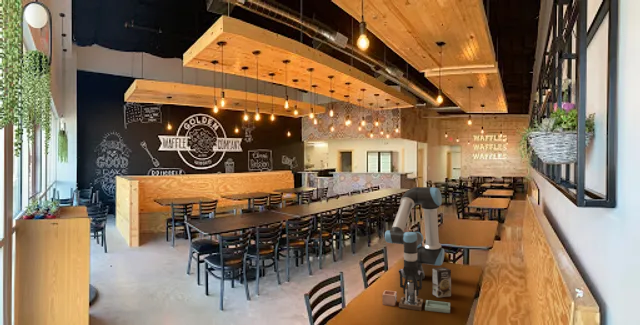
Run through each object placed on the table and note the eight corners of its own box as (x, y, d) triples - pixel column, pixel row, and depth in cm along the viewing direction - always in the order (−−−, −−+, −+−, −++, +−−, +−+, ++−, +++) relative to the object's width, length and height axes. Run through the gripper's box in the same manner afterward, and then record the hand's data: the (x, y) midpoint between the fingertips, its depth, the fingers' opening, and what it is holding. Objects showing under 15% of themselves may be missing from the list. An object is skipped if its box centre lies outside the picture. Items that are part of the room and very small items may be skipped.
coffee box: (438, 298, 222) (438, 271, 221) (432, 294, 228) (432, 268, 228) (451, 296, 224) (451, 269, 224) (445, 292, 230) (445, 266, 230)
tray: (426, 303, 214) (426, 300, 214) (450, 306, 209) (450, 302, 209) (424, 310, 204) (424, 306, 204) (449, 313, 200) (449, 309, 200)
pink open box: (384, 300, 219) (384, 290, 219) (396, 301, 217) (396, 291, 217) (382, 304, 213) (382, 294, 213) (394, 306, 210) (394, 295, 210)
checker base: (401, 299, 219) (401, 296, 219) (422, 302, 215) (422, 298, 215) (398, 307, 208) (398, 304, 208) (421, 310, 204) (421, 306, 204)
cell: (407, 298, 215) (407, 278, 215) (415, 299, 213) (415, 279, 213) (406, 301, 210) (406, 281, 210) (414, 302, 209) (414, 281, 209)
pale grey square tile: (405, 300, 216) (405, 299, 216) (418, 302, 214) (418, 300, 214) (404, 305, 210) (404, 303, 210) (416, 306, 207) (416, 305, 207)
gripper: (394, 260, 211) (394, 301, 211) (426, 262, 205) (426, 304, 205) (396, 256, 218) (396, 296, 218) (427, 259, 212) (427, 299, 212)
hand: (411, 300), depth 212 cm, fingers closed on cell, 4 cm apart
